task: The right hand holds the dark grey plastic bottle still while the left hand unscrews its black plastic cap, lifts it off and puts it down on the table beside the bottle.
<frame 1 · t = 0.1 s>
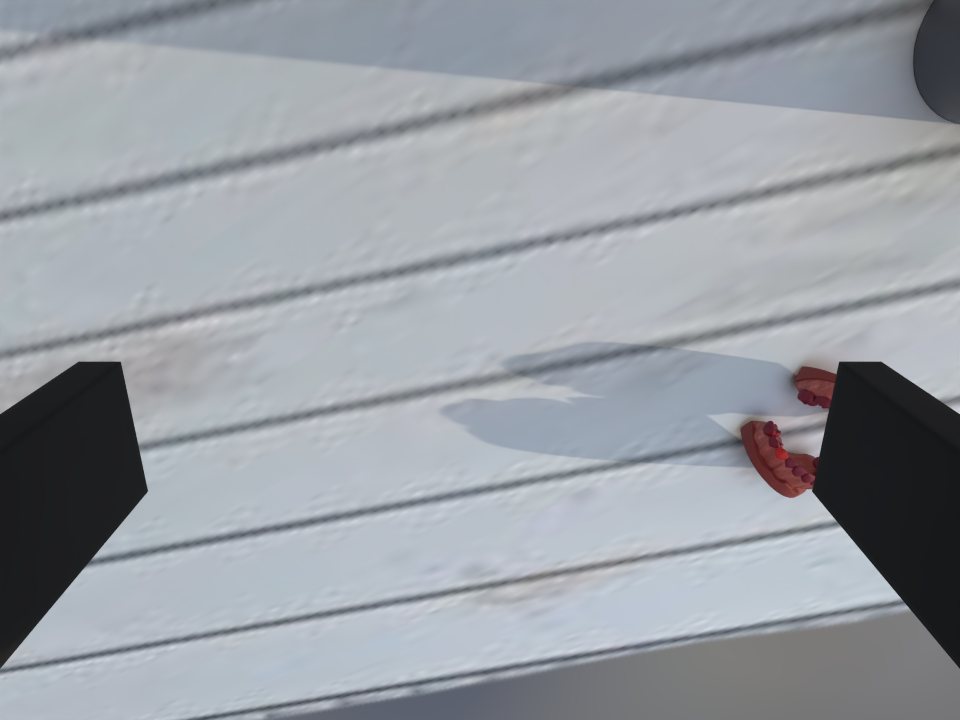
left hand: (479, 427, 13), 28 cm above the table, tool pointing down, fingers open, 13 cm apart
dental model: (799, 419, 44), on the table
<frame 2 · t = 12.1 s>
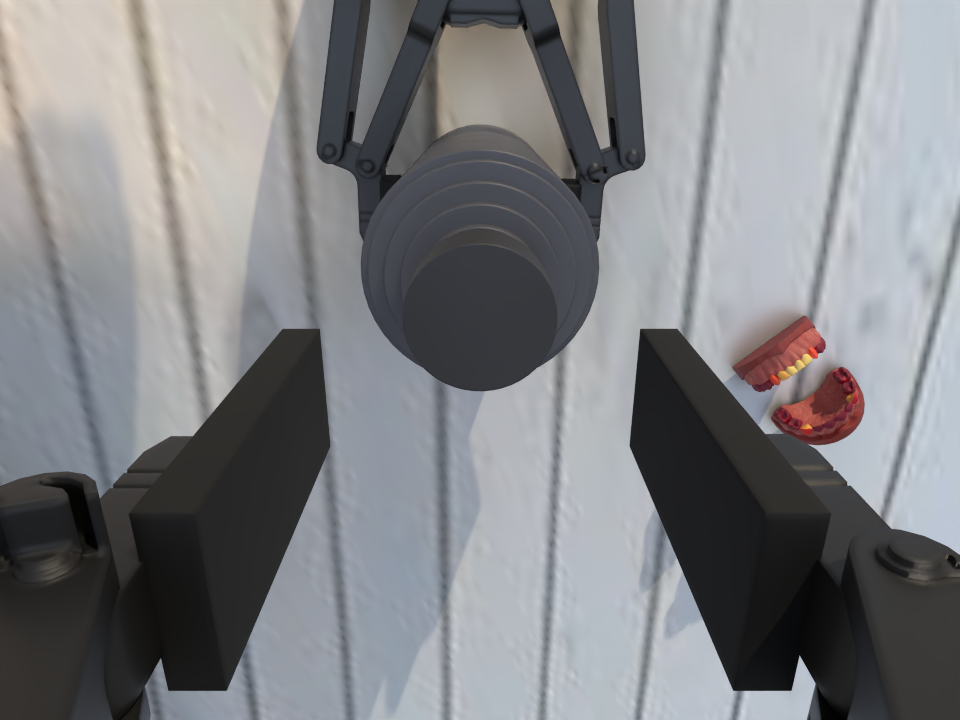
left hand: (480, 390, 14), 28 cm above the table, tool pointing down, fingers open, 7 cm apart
right hand: (478, 304, 36), fingers closed on bottle, 8 cm apart
dental model: (788, 370, 44), on the table
bottle: (479, 198, 40), on the table, touching right hand
cap: (480, 317, 19), point 23 cm above the table, screwed on, not yet turned
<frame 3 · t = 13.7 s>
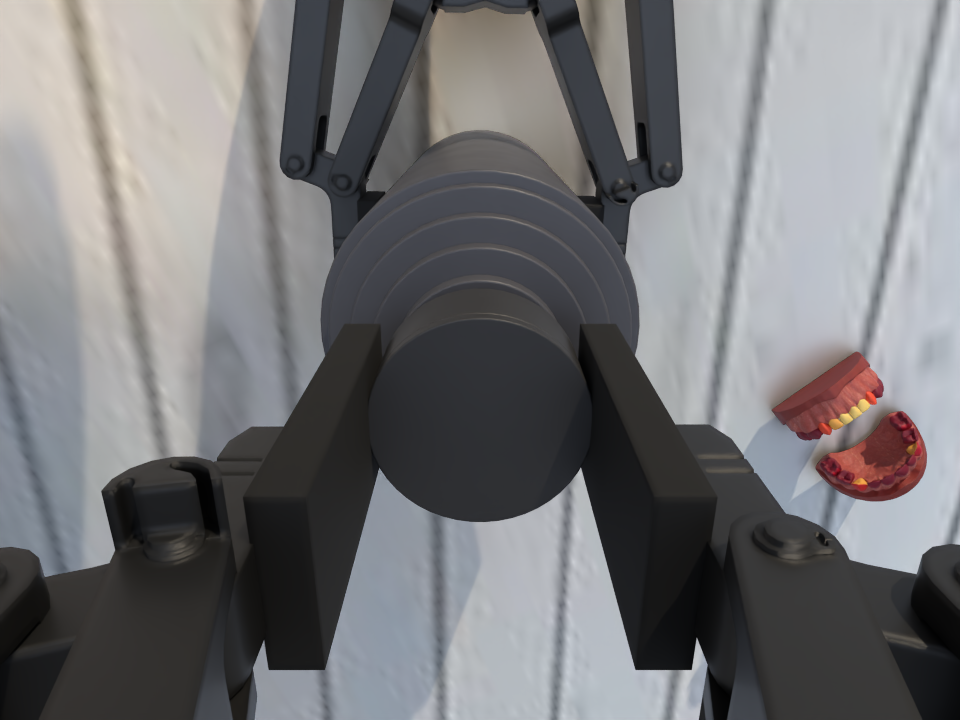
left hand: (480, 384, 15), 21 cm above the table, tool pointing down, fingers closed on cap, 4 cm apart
right hand: (477, 345, 30), fingers closed on bottle, 8 cm apart
dental model: (836, 412, 38), on the table
bottle: (480, 216, 34), on the table, touching right hand
cap: (480, 419, 13), point 23 cm above the table, screwed on, not yet turned, touching left hand
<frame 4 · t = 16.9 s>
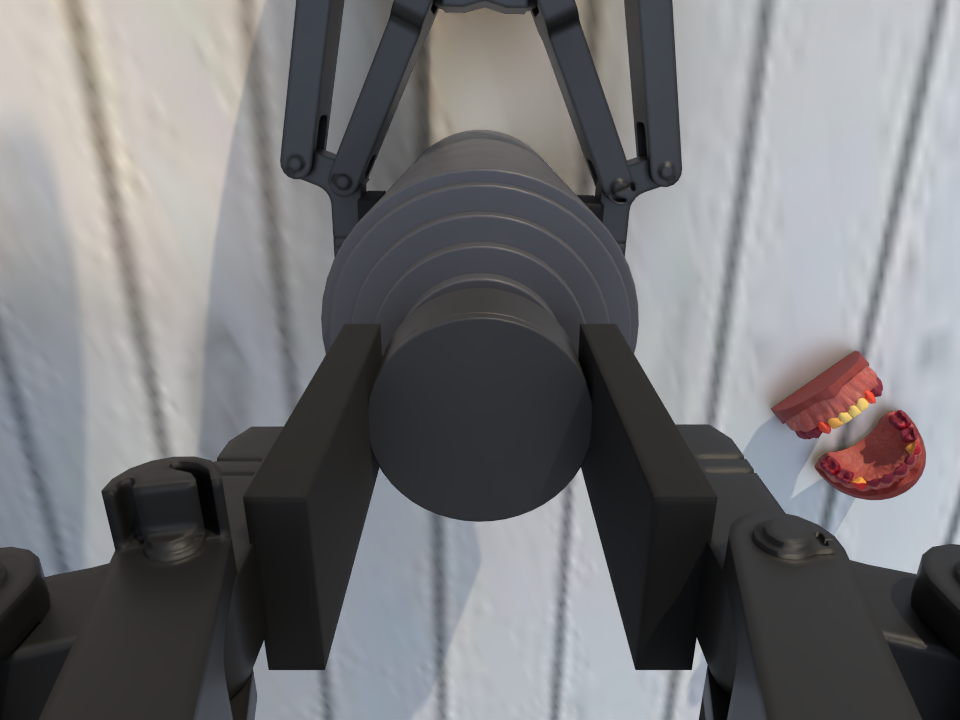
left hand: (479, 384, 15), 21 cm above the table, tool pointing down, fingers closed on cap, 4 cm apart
right hand: (477, 344, 30), fingers closed on bottle, 8 cm apart
dental model: (835, 411, 38), on the table
bottle: (480, 215, 34), on the table, touching right hand
cap: (480, 419, 13), point 23 cm above the table, turned 86° so far, risen 0.1 cm, still on its thread, touching left hand
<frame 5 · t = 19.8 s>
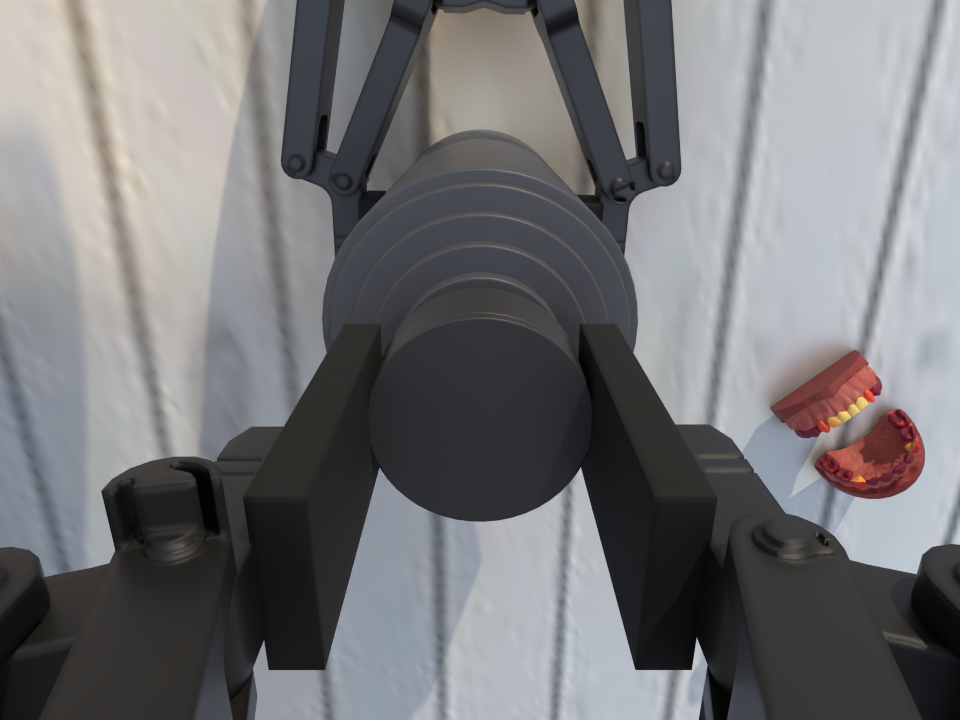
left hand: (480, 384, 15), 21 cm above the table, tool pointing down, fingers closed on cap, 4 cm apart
right hand: (478, 344, 30), fingers closed on bottle, 8 cm apart
dental model: (834, 410, 38), on the table
bottle: (480, 215, 34), on the table, touching right hand
cap: (480, 419, 13), point 23 cm above the table, turned 172° so far, risen 0.2 cm, still on its thread, touching left hand
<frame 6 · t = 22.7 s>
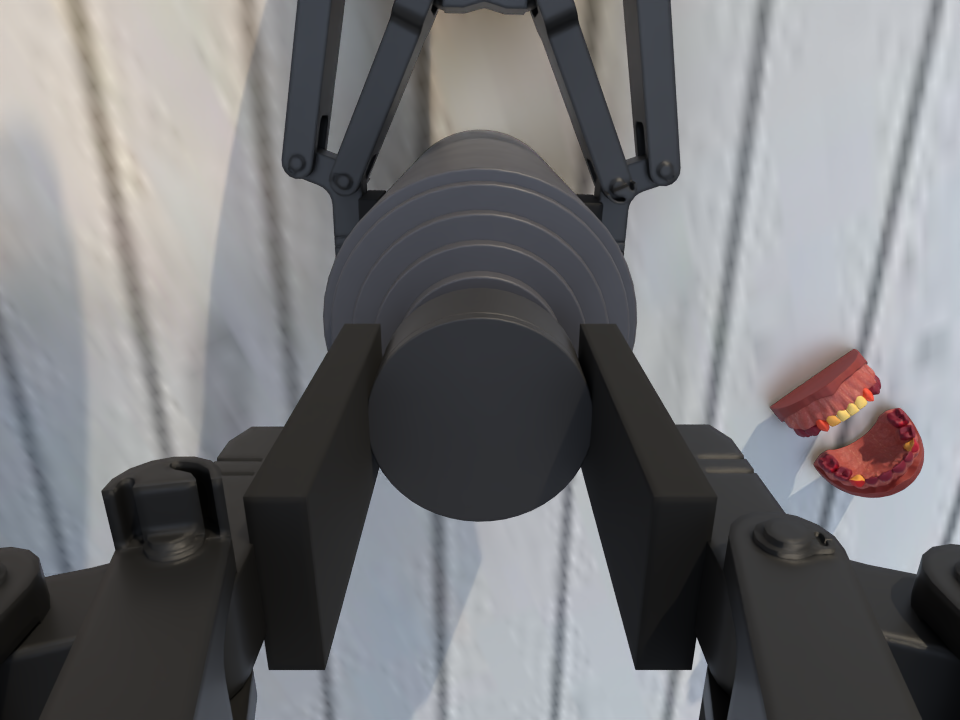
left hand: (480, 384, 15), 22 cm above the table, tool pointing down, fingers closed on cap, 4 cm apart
right hand: (478, 343, 30), fingers closed on bottle, 8 cm apart
dental model: (834, 409, 39), on the table
bottle: (480, 215, 35), on the table, touching right hand
cap: (480, 419, 13), point 23 cm above the table, turned 258° so far, risen 0.3 cm, still on its thread, touching left hand
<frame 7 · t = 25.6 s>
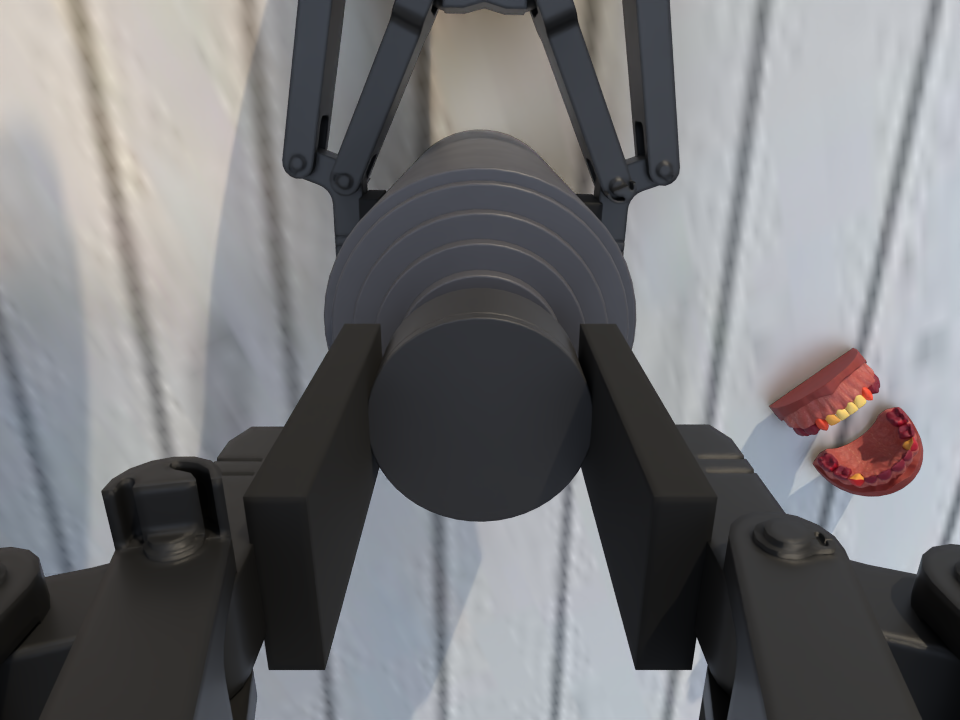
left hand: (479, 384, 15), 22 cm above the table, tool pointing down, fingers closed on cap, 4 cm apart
right hand: (478, 342, 31), fingers closed on bottle, 8 cm apart
dental model: (833, 408, 39), on the table
bottle: (480, 214, 35), on the table, touching right hand
cap: (480, 419, 13), point 23 cm above the table, turned 345° so far, risen 0.4 cm, still on its thread, touching left hand
when the left hand's fingers open (1 cm above the table, at t = 36.5 s): cap drops 1 cm, point 2 cm above the table.
when the right hand's fingers open (6 cm above the table, at t = 37.8 s): bottle stays where it is, on the table.
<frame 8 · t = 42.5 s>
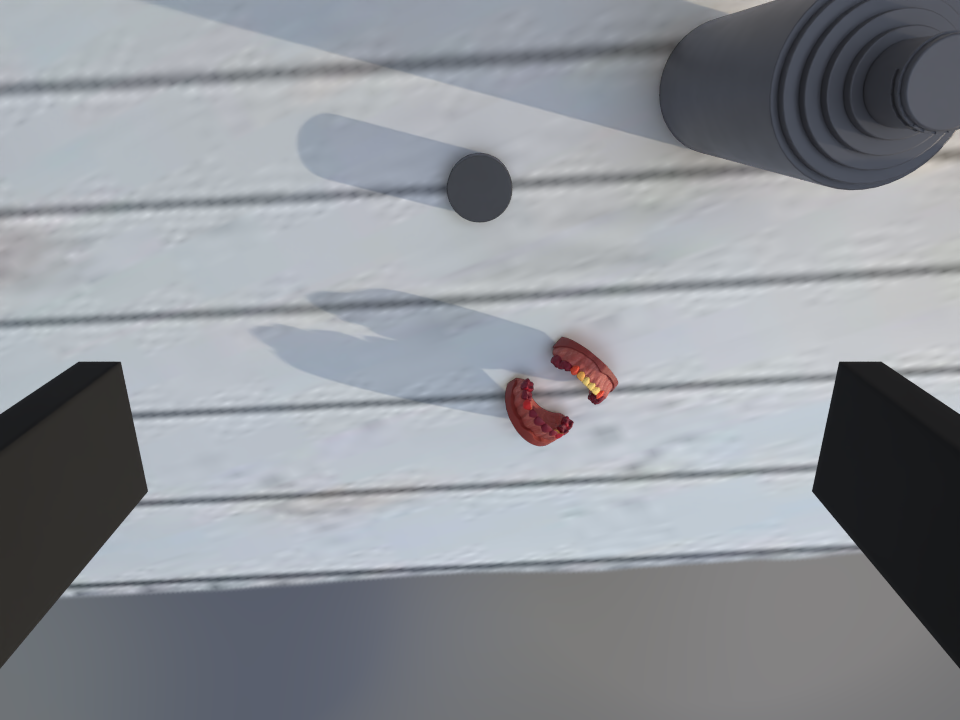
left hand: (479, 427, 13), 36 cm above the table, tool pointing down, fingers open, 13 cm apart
dental model: (558, 383, 51), on the table
bottle: (723, 87, 44), on the table
cap: (479, 188, 44), point 2 cm above the table, off its thread
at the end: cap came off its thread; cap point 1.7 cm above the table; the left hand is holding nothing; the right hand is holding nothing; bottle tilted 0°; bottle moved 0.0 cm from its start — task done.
